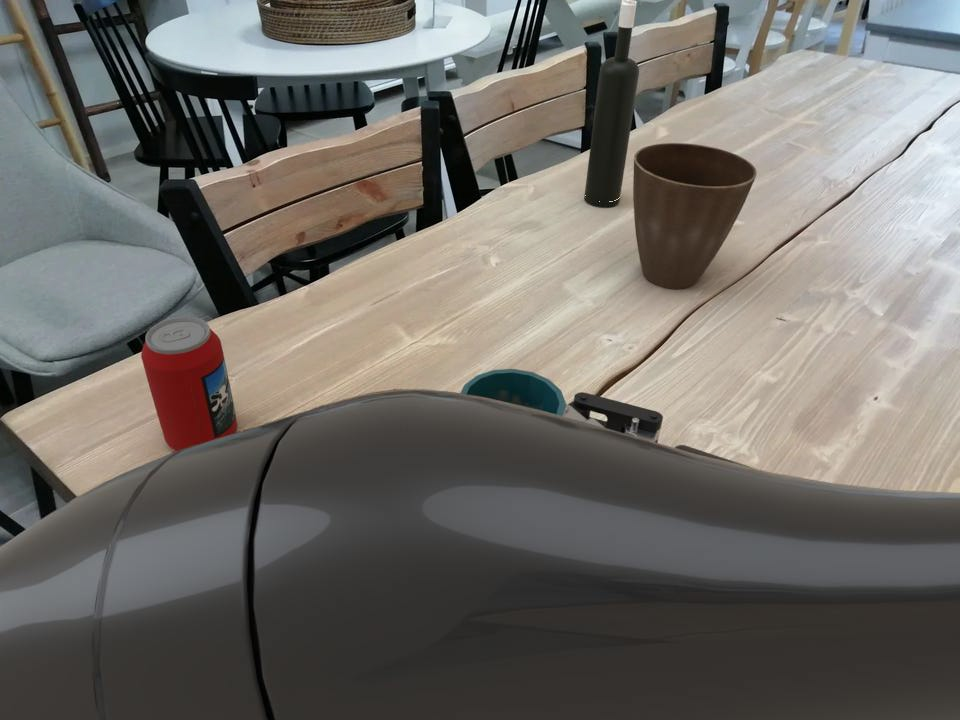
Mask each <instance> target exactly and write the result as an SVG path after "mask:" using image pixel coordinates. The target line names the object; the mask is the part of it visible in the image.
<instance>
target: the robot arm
mask: <svg viewBox="0 0 960 720" xmlns="http://www.w3.org/2000/svg"><path fill="white" fill-rule="evenodd" d="M591 412H593V413H596V414H600V415H603V416H605V417H606V420H602V419H600V418H596V417H591ZM663 421H664V416H663V415H662V414H661V413H660V412H659V411H656V410H653V409H650V408H645V407H641V406H638V405H634V404H630V403H627V402H622V401H619V400H614V399H610V398H608V397H603V396H599V395H596V394H592V393H588V392H584V391H583V392H582V391H579V392H577V393H575V394H574V397H573V400H572V401H571V402H569V403H566V408H565V417H563V416H560V415H556V414H553V413H549V412H545V411H542V410H537V409H533V408H528V407H524V406H520V405H515V404H511V403H507V402H503V401H499V400H494V399H490V398H485V397H480V396H474V395H468V394H462V393H461V392H455V391H447V390H436V389H425V388H400V389H399V388H395V389H388V390H387V389H386V390H380V391H374V392H373V391H371V392H368V393H363V394H360V395H356V396H351V397H347V398H345V399H340V400H337V401H333V402H330V403H326V404H322V405H319V406H315V407H314V408H313V407H312V408H311V409H309V410H305V411H301V412H299V413H296V414H291V415H288V416H285V417H283V418H279V419H276V420H272V421H269V422H266V423H263V424H260V425H256V426H253V427H250V428H247V429H244V430H240V431H236V432H235V433H234V434H230V435H227V436H224V437H221V438H217V439H214V440H211V441H208V442H205V443H201V444H198V445H194V446H190V447H187V448H184V449H181V450H178V451H176V450H174V451H173V452H171V453H168V454H165V455H163V456H160V457H158V458H155V459H154V460H150V461H149V462H146V463H144V464H141V465H139V466H137V467H135V468H132V469H130V470H128V471H125V472H123V473H120V474H119V475H117V476H114V477H112V478H110V479H108V480H106V481H104V482H101V483H100V484H98V485H96V486H94V487H93V488H91V489H89V490H87V491H85V492H83V493H81V494H79V495H78V496H76V497H74V498H72V499H71V500H70V501H68V502H66V503H65V504H63V505H62V506H59V507H58V508H56V509H55V510H53V511H52V512H50V513H49V514H46V515H45V516H44V517H42V518H41V519H40V520H38V521H37V522H35V523H34V524H31V525H30V526H29V527H27V528H26V529H24V530H23V531H22V532H20V533H19V534H17V535H16V536H14V537H13V538H11V539H10V540H8V541H7V542H5V543H3V544H2V545H1V546H0V720H960V492H950V491H949V492H948V491H928V490H927V491H924V490H907V489H905V490H904V489H903V490H901V489H887V488H880V487H871V486H863V485H853V484H845V483H836V482H829V481H823V480H817V479H811V478H805V477H800V476H794V475H787V474H782V473H776V472H771V471H768V470H763V469H759V468H756V467H752V466H749V465H746V464H743V463H740V462H737V461H734V460H731V459H728V458H726V457H722V456H719V455H716V454H712V453H710V452H707V451H704V450H700V449H698V448H694V447H692V446H689V445H686V444H679V445H676V446H675V447H673V446H670V445H666V444H663V443H659V438H660V435H661V429H662V426H663V425H662V424H663Z"/></svg>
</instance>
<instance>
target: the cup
mask: <svg viewBox="0 0 960 720" xmlns="http://www.w3.org/2000/svg"><path fill="white" fill-rule="evenodd" d="M460 393H462V394H468V395H474V396H480V397H485V398H490V399H494V400H499V401H503V402H507V403H511V404H515V405H520V406H524V407H528V408H533V409H537V410H542V411H545V412H549V413H553V414H556V415H560V416H563V417H565V408H566V404H567V403H566V402H567V401H566V400H565V397H564V393H563V392H562V390H561V389H560V388H559V386H557V385H556V384H555V383H554V382H552V380H551V379H549V378H547V377H544V376H542V375H540V374H538V373H536V372H533V371H528V370H523V369H517V368H502V369H501V368H500V369H493V370H492V369H491V370H488V371H486V372H483V373H480V374H477V375H475V376H474V377H473V378H471V379H470V380H468V381H467V382H465V384H464V385H463V387H462V388H461V390H460Z"/></svg>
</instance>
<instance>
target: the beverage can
mask: <svg viewBox="0 0 960 720" xmlns="http://www.w3.org/2000/svg"><path fill="white" fill-rule="evenodd" d="M140 353H141V354H140V356H141V361H142V364H143V368H144V369H143V370H144V373H145V376H146V380H147V383H148V387H149V391H150V394H151V398H152V401H153V404H154V408H155V412H156V415H157V418H158V422H159V426H160V429H161V431H162V435H163V438H164V441H165V443H166V444H167V446H168V447H169V448H171V449H172V450H174V451H178V450H181V449H184V448H187V447H190V446H194V445H198V444H201V443H205V442H208V441H211V440H214V439H217V438H221V437H224V436H227V435H230V434H234V433H237V429H238V420H237V414H236V409H235V404H234V398H233V394H232V388H231V384H230V379H229V374H228V367H227V364H226V360H225V354H224V350H223V346H222V342H221V339H220V337H219V336H218V335H217V333H216V332H215V331H214V330H213V329H212V328H210V325H209V324H208V322H206V321H205V320H203V319H201V318H198V317H194V316H178V317H172V318H168V319H165V320H162V321H159V322H158V323H156V324H155V325H153V326H151V327H150V328H149V329H148V330H147V332H146V334H145V341H144V344H143V347H142V349H141V352H140Z"/></svg>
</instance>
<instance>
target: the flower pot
mask: <svg viewBox="0 0 960 720" xmlns="http://www.w3.org/2000/svg"><path fill="white" fill-rule="evenodd" d="M757 174H758V173H757V169H756V167H755V166H754V165H753V164H752V162H750V161H749V160H747V159H745V158H744V157H743V156H740V155H738V154H737V153H733V152H730V151H728V150H724V149H721V148H717V147H714V146H709V145H703V144H696V143H688V142H687V143H686V142H665V143H656V144H651V145H647V146H643V147H641V148H640V149H639V150H637V151H636V153H634V157H633V182H632V187H633V188H632V189H633V190H632V191H633V192H632V193H633V194H632V198H633V201H632V202H633V217H634V229H635V230H634V231H635V238H636V246H637V251H638V258H639V262H640V267H641V272H642V275H643V277H644V278H645V280H647V281H649V282H650V283H652V284H653V285H656V286H659V287H662V288H667V289H675V290H681V289H687V288H691V287H693V286H695V284H696V283H697V282H698V281H699V280H700V278H701V277H702V276H703V275H704V273H705V272H706V270H707V269H708V268H709V266H710V265H711V263H712V261H714V259H715V258H716V255H718V253H719V251H720V249H721V247H722V246H723V245H724V243H725V241H726V239H727V237H728V236H729V234H730V232H731V231H732V228H733V227H734V225H735V223H736V221H737V219H738V217H739V215H740V213H741V211H742V209H743V207H744V205H745V203H746V200H747V199H748V196H749V194H750V191H751V189H752V187H753V185H754V182H755V179H756V177H757Z"/></svg>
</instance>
